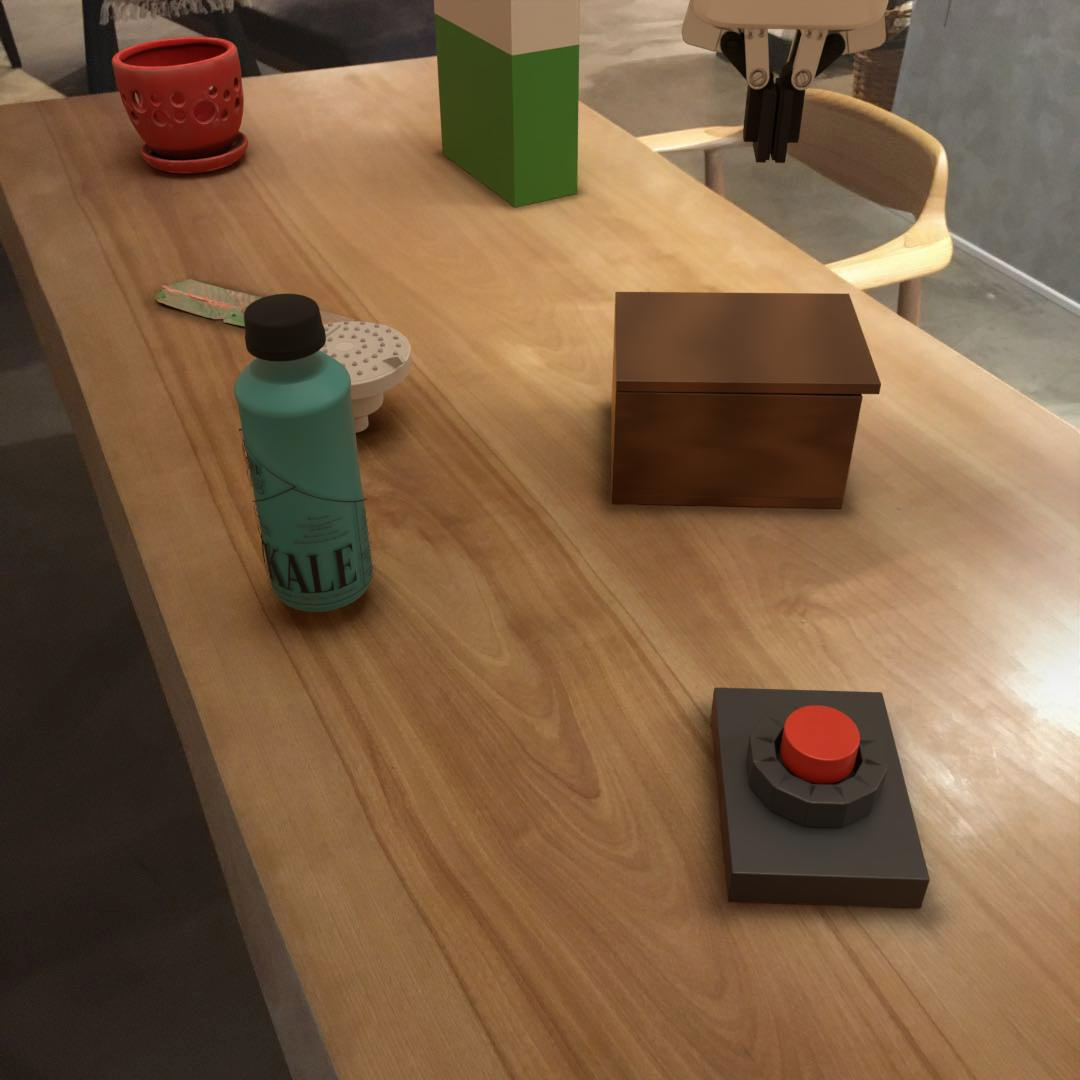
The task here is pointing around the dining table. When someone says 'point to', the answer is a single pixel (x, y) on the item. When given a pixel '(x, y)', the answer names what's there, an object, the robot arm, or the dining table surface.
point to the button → (819, 744)
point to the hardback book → (511, 93)
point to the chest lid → (741, 343)
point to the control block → (813, 808)
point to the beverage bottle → (303, 457)
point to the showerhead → (368, 362)
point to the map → (218, 302)
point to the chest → (731, 447)
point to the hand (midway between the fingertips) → (768, 153)
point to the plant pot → (184, 102)
